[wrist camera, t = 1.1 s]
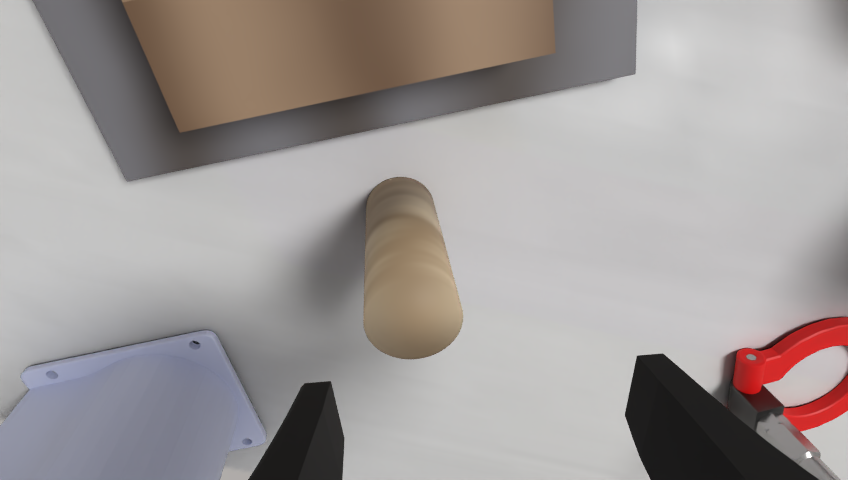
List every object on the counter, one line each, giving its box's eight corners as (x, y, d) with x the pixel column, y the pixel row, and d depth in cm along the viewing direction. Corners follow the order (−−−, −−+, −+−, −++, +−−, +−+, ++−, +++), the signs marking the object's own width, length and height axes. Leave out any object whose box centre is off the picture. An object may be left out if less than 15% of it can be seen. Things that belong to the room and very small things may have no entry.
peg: (374, 244, 23) (376, 367, 16) (358, 185, 21) (352, 291, 14) (439, 231, 23) (469, 348, 16) (427, 170, 21) (455, 269, 14)
